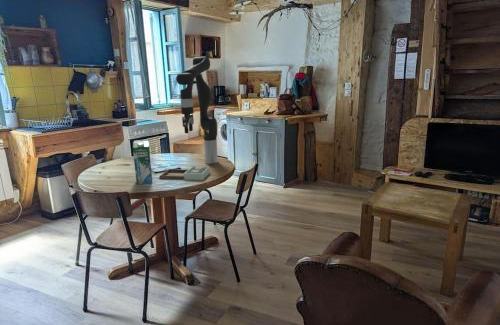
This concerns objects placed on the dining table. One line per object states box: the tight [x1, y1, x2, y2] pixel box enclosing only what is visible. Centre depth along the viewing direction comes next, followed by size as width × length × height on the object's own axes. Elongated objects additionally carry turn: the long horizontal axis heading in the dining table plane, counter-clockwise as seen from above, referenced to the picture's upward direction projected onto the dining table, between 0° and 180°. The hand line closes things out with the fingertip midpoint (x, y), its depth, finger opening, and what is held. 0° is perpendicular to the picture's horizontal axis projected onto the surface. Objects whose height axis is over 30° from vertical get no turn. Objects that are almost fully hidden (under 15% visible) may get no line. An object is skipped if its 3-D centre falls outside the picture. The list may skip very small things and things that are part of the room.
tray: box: [158, 168, 189, 180], centre depth 224 cm, size 16×16×2 cm
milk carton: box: [132, 140, 153, 186], centre depth 210 cm, size 9×9×25 cm
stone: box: [194, 166, 204, 173], centre depth 224 cm, size 4×4×4 cm
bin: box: [183, 166, 211, 181], centre depth 221 cm, size 16×12×5 cm
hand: (188, 132), depth 220 cm, fingers open, 8 cm apart
